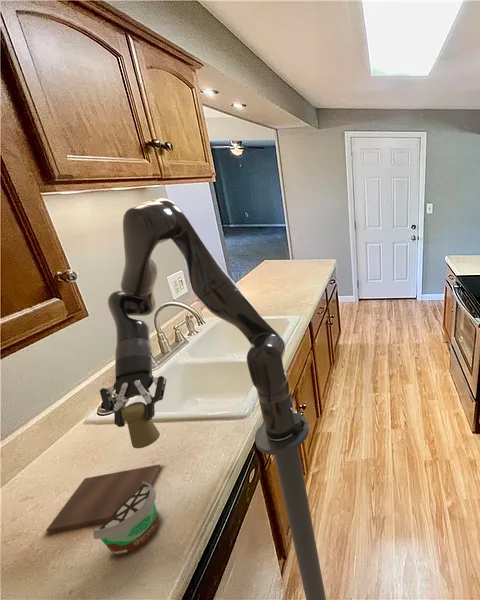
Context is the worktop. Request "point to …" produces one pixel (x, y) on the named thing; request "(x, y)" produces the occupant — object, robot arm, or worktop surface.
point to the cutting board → (101, 498)
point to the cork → (139, 425)
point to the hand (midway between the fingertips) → (135, 422)
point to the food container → (131, 523)
